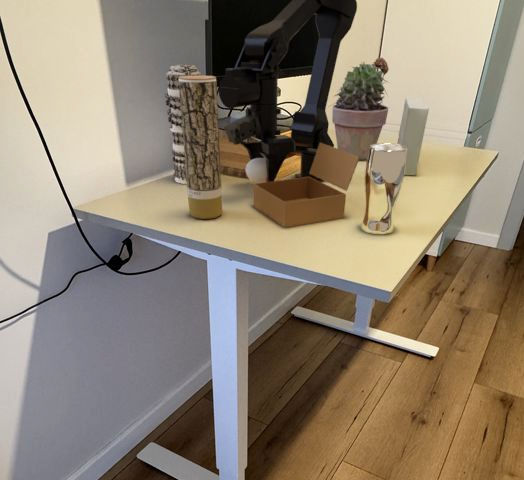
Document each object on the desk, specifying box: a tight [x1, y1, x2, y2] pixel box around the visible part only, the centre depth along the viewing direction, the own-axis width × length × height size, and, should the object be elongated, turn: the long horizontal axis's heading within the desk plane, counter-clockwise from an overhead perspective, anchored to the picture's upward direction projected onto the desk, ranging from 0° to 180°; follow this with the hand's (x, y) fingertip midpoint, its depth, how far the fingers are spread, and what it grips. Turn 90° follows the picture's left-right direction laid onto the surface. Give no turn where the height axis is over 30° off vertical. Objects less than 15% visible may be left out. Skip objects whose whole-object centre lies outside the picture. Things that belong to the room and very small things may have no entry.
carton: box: [252, 177, 347, 229], centre depth 102 cm, size 15×14×5 cm
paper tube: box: [178, 75, 223, 220], centre depth 95 cm, size 7×7×25 cm
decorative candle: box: [164, 64, 203, 185], centre depth 117 cm, size 9×9×25 cm
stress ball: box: [245, 158, 278, 184], centre depth 112 cm, size 8×8×7 cm
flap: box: [309, 143, 360, 192], centre depth 102 cm, size 14×7×1 cm
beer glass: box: [360, 142, 407, 235], centre depth 91 cm, size 7×7×15 cm
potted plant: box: [325, 57, 392, 161], centre depth 138 cm, size 18×20×25 cm
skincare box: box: [396, 97, 430, 176], centre depth 132 cm, size 21×6×16 cm, turn 168°
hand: (263, 178), depth 112 cm, fingers closed on stress ball, 7 cm apart
